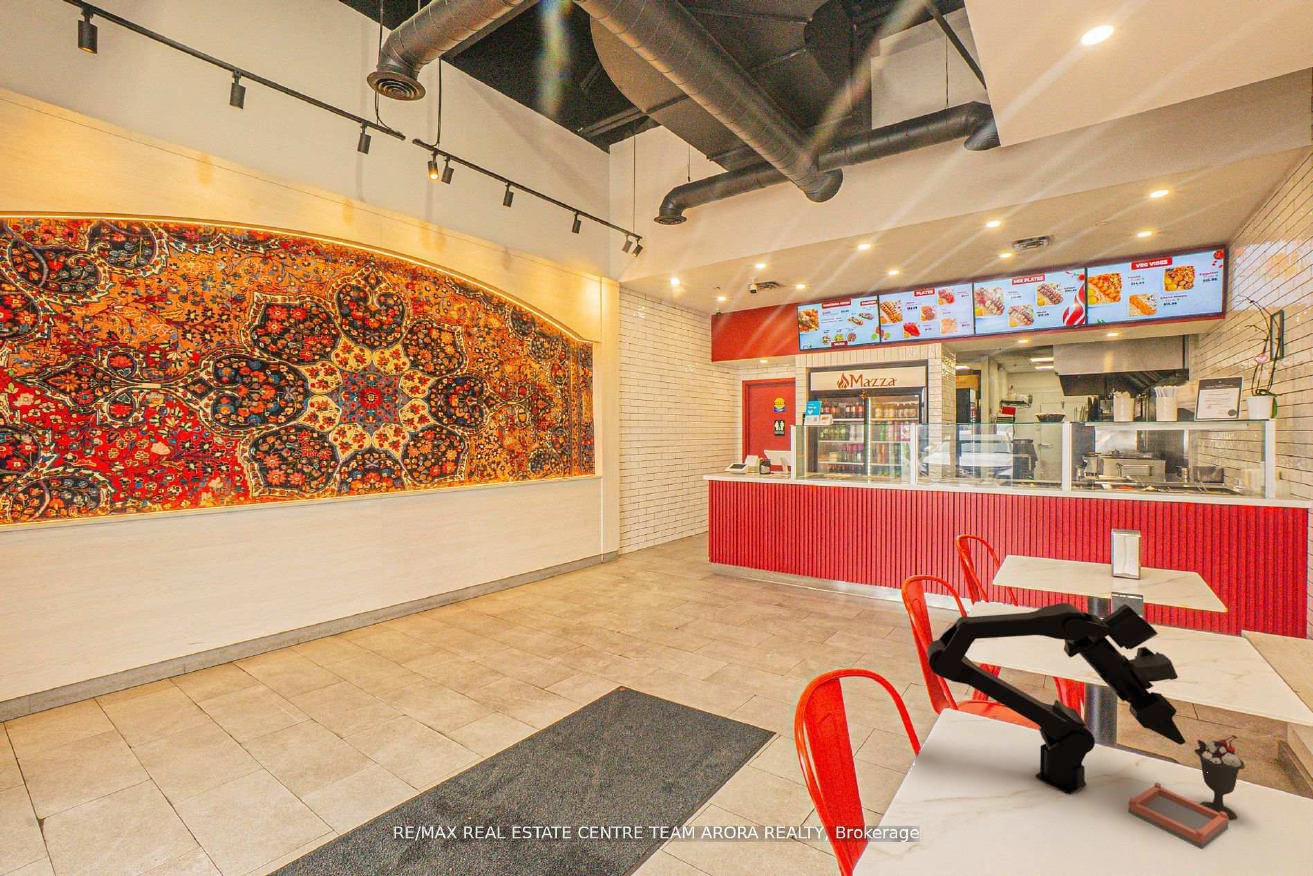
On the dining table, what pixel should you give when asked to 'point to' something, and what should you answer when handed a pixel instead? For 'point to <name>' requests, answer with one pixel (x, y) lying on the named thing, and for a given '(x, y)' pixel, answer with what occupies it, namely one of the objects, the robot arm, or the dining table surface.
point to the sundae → (1219, 771)
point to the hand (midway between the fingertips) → (1171, 731)
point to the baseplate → (1179, 815)
